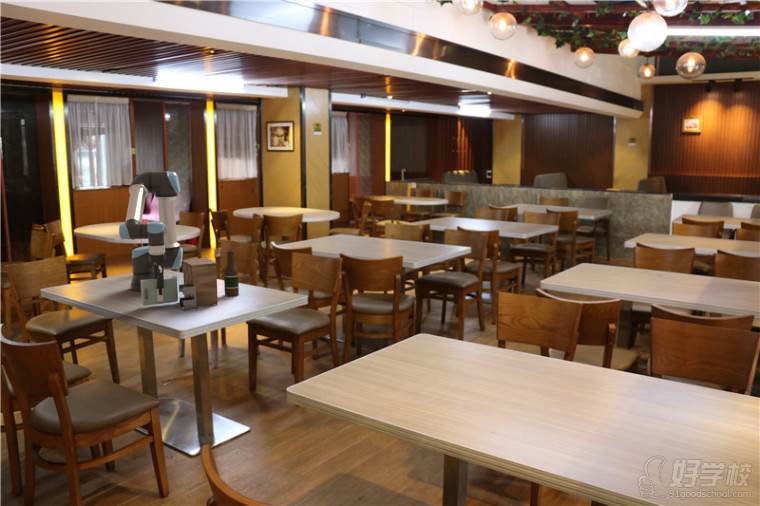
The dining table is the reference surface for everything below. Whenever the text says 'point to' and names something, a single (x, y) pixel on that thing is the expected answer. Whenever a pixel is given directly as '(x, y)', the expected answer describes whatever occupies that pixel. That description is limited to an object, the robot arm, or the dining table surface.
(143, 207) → the robot arm
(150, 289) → the door
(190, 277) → the cabinet
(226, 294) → the beer bottle
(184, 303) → the grey open frame
